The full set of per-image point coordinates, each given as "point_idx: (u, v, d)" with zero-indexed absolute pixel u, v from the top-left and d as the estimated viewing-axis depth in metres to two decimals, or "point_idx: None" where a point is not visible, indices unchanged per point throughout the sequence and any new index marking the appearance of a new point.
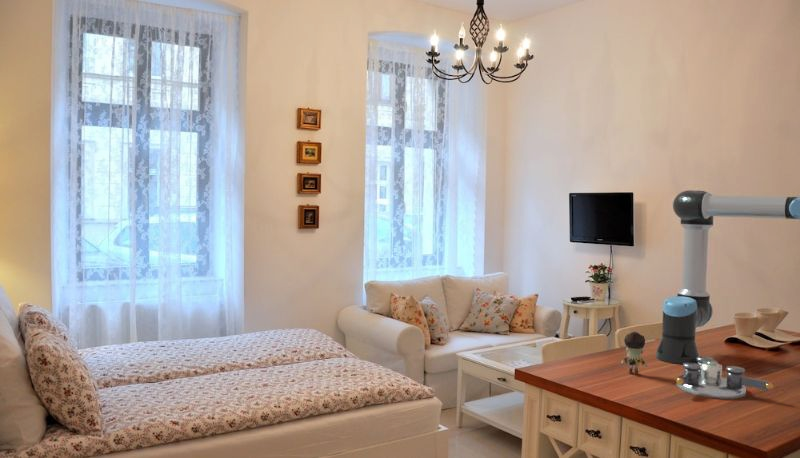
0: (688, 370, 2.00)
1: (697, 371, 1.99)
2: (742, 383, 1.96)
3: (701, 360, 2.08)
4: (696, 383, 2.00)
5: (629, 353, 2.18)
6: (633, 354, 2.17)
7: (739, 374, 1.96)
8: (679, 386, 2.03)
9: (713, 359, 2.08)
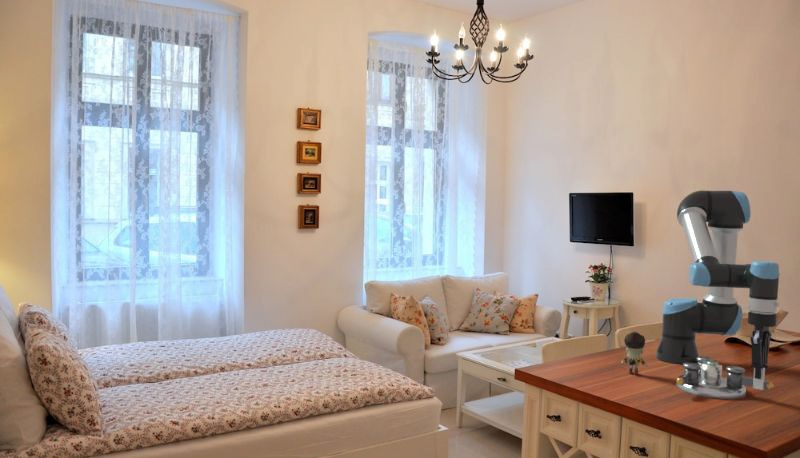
0: (688, 370, 2.00)
1: (697, 371, 1.99)
2: (742, 383, 1.96)
3: (701, 360, 2.08)
4: (696, 383, 2.00)
5: (629, 353, 2.18)
6: (633, 354, 2.17)
7: (739, 374, 1.96)
8: (679, 386, 2.03)
9: (713, 359, 2.08)
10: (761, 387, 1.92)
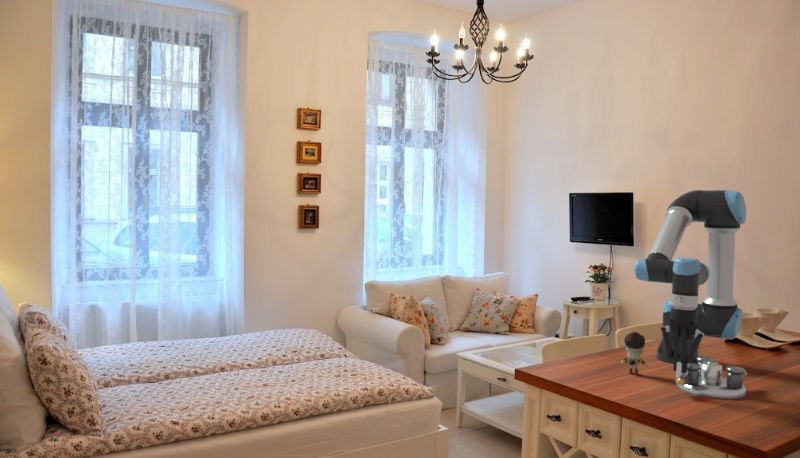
0: (689, 370, 2.00)
1: (697, 371, 1.99)
2: None
3: (701, 360, 2.08)
4: (696, 383, 2.00)
5: (629, 353, 2.18)
6: (633, 354, 2.17)
7: None
8: (679, 386, 2.03)
9: (713, 359, 2.08)
10: None
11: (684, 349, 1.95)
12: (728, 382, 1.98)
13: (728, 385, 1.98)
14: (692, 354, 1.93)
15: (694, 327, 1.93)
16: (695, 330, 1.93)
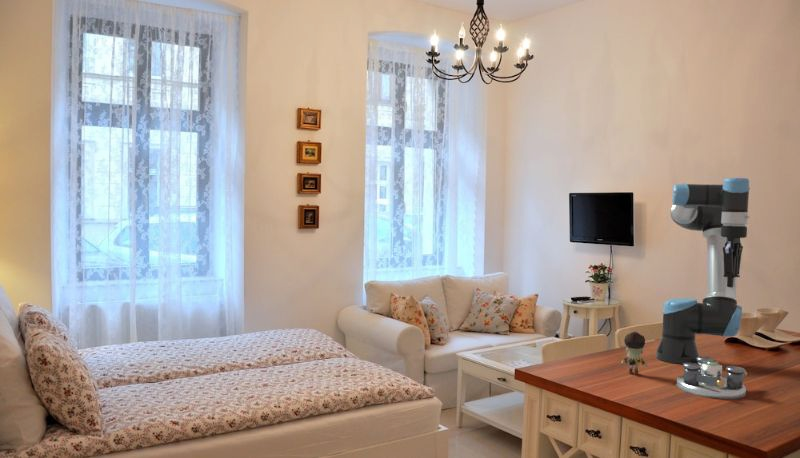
0: (697, 370, 1.99)
1: None
2: None
3: (701, 360, 2.08)
4: None
5: (629, 353, 2.18)
6: (633, 354, 2.17)
7: None
8: (679, 386, 2.03)
9: (713, 359, 2.08)
10: (733, 295, 2.06)
11: (737, 264, 2.06)
12: (728, 382, 1.98)
13: (728, 385, 1.98)
14: (739, 266, 2.08)
15: None
16: None
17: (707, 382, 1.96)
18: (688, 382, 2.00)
